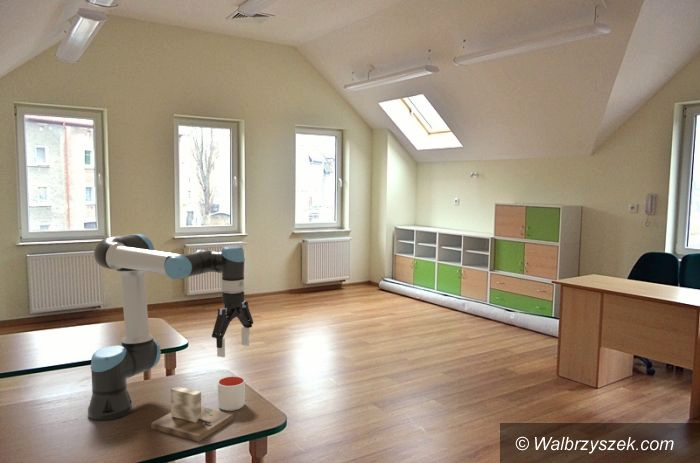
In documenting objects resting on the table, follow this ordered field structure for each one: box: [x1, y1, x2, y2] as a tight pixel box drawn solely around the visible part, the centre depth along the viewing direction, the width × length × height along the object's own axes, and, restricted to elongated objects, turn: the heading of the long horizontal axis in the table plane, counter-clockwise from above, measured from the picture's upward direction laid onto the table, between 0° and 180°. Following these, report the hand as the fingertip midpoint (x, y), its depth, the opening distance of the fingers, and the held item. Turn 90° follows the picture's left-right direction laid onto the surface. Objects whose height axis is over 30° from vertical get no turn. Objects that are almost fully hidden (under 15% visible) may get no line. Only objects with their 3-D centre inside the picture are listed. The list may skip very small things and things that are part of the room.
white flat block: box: [170, 386, 211, 424], centre depth 189 cm, size 16×3×10 cm, turn 64°
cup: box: [217, 376, 246, 412], centre depth 205 cm, size 10×10×10 cm
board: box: [150, 406, 234, 443], centre depth 191 cm, size 21×18×2 cm
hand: (233, 350), depth 188 cm, fingers open, 13 cm apart
